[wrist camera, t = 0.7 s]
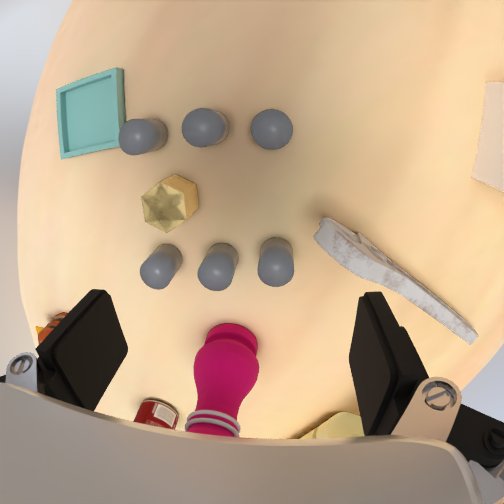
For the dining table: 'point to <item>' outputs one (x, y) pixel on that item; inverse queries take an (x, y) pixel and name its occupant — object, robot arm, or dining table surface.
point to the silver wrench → (386, 274)
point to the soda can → (156, 414)
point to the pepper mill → (223, 380)
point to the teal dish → (91, 113)
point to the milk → (491, 139)
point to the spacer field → (221, 254)
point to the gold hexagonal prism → (170, 203)
